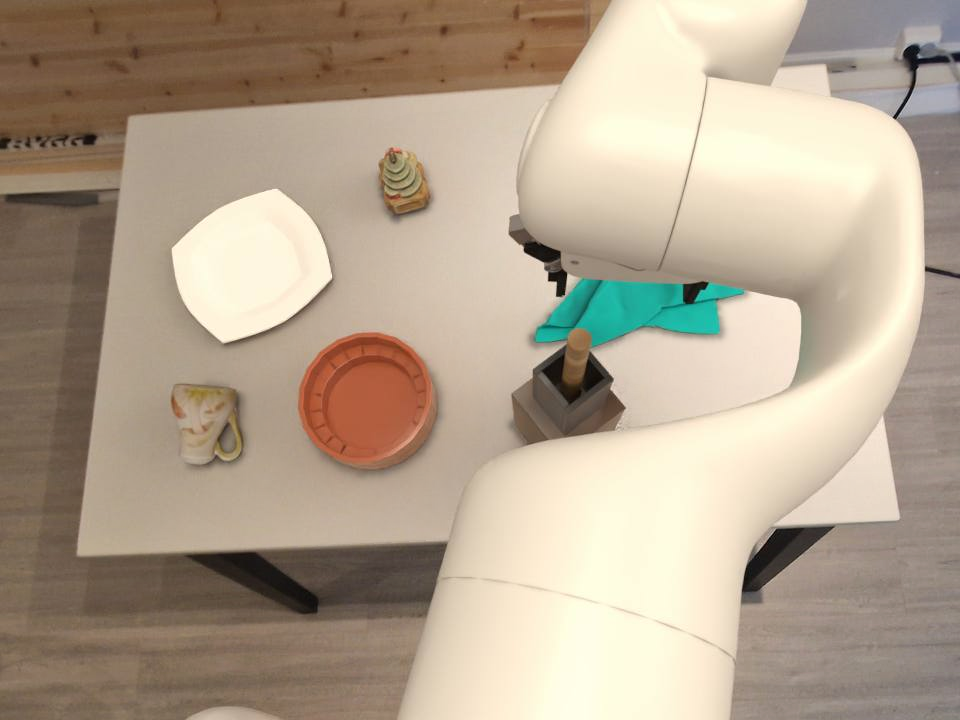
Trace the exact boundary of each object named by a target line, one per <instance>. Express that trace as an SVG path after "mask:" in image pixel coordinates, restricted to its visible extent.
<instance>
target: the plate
mask: <svg viewBox="0 0 960 720" xmlns="http://www.w3.org/2000/svg"><path fill="white" fill-rule="evenodd" d="M170 250H171V258H172V266H173V272H174V278H175V282H176V286H177V290H178V293H179V296H180V297H181V300H182V302H183V304H184V305H185V307H186V308H187V310H188V312H189V313H190V314H191V315H192V317H194V319H195V320H196V321H197V322H198V323H199V324H200V325H201V326H202V327H203V328H204V329H206V330H207V331H208V332H209V333H210V334H211V335H212V336H213V337H214V338H216V339H217V340H218V341H220V343H222V344H227V343H231V342H234V341H238V340H241V339H244V338H249V337H251V336H254V335H257V334H260V333H263V332H265V331H267V330H270V329H272V328H274V327H277V326H279V325H281V324H282V323H286V321H288V320H289V319H291V318H292V317H293V316H295V315H296V314H298V313H299V312H300V311H301V310H302V309H303V308H304V307H305V306H307V305H308V304H309V303H310V302H312V300H313V299H314V298H315V297H316V296H317V295H318V294H319V293H321V291H322V290H324V289H325V287H326V286H327V285H328V284H329V283H330V282H331V281H332V279H333V273H332V267H331V264H330V260H329V255H328V250H327V247H326V244H325V241H324V239H323V235H322V233H321V232H320V230H319V228H318V226H317V224H316V223H315V222H314V220H313V219H312V218H311V216H310V215H309V214H308V213H307V212H306V211H305V210H304V209H303V208H302V207H301V206H300V205H299V204H298V203H296V202H295V201H294V200H293V199H292V198H290V197H289V196H287V195H286V194H285V193H283V192H282V191H281V190H279V189H278V188H277V187H276V188H272V189H268V190H265V191H260V192H258V193H254V194H251V195H247V196H244V197H242V198H239V199H237V200H234V201H231V202H229V203H227V204H225V205H223V206H221V207H218V208H217V209H215V210H214V211H213V212H211V213H210V214H208V215H207V216H206V217H204V218H203V219H201V221H199V222H198V223H197V224H196V225H194V227H192V228H191V229H190V230H189V231H188V232H187V233H186V234H185V235H184V236H183V237H181V239H180V240H178V242H177V243H176V244H175V245H174V246H172V247H171V249H170Z"/></svg>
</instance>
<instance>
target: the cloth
mask: <svg viewBox="0 0 960 720" xmlns="http://www.w3.org/2000/svg"><path fill="white" fill-rule="evenodd" d="M743 294H745V290H742V289H738V288H734V287H729V286H724V285H719V284H714V283H709V284H708V286H707V288H706V290H701V291H700V292H699V294H698V296H697V298H696V300H695V302H694V303H693V304H685V302H683V284H668V283H646V282H627V281H610V280H595V279H585V278H580V280H579V281H578V283H577V284H576V285H575V286H574V288H573V289H572V290H571V291H570V293H569V294H568V295H566V297H565V298H564V299H563V300H562V301H561V303H560V304H558V306H556V308H555V309H554V310H553V311H552V313H550V315H549V317H548V318H547V319H546V321H545V322H544V323H542V324H541V325H539V326H537V327H536V331H535V336H534V340H535V342H536V343H551V342H553V343H554V342H557V341H564V340H567V338H568V335H569V333H570V332H571V331H572V330H574V329H576V328H583V329H585V330H587V331H588V332H589V333H590V334H591V337H592V343H591V347H590V348H593V347H596V346H599V345H601V344H605V343H607V342H609V341H612V340H613V339H616V338H619V337H620V336H623V335H625V334H628V333H630V332H633V331H635V330H637V329H640V328H641V327H648V328H649V327H650V328H654V327H658V328H661V329H664V330H667V331H668V330H669V331H673V332H679V333H688V334H689V333H690V334H697V335H698V334H700V335H718V334H719V333H720V331H721V327H720V319H719V312H718V305H717V300H716V299H725V298H730V297H735V296H739V295H743Z"/></svg>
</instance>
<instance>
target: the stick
mask: <svg viewBox="0 0 960 720" xmlns="http://www.w3.org/2000/svg"><path fill="white" fill-rule="evenodd" d="M591 343H592V337H591V334H590V333H589V332H588V331H587V330H585V329H583V328H576V329H574V330H572V331H571V332H570V333H569V335H568V338H567V339H566V344H567V345H566V344H565V345H566V352H565V360H564V367H563V374H562V381H561V389H560V393H561V394H562V396H563V397H564V398H565V399H566V400H567V402H568V403H569V404H571V403H572V402H574V401H575V400H576V399H578V398H579V397H580V396H581V394H582V390H583V389H582V388H581V385H582V380H583V376H584V372H585V368H586V364H587V360H588V355H589V351H591V348H592V347H591Z"/></svg>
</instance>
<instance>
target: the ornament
mask: <svg viewBox="0 0 960 720" xmlns="http://www.w3.org/2000/svg"><path fill="white" fill-rule="evenodd" d="M378 168H379V172H380V174H379V176H378V177H379V182H380V185H381V187H382V190H383V199H384V203H385V205H386V207H387V208H388V210H390V211H391V212H392V214H394V215H396V216H397V215H402V214H406V213H411V212H414V211H419V210H422V209H426V208H427V207H428V206H429V203H430V201H429V200H430V198H431V192H430V189H429V186H428V183H427V181H425V179H426V178H425V173H424V168H423V165H422V163H421V162H420V161H419V159H418V157H417V155H416V154H415V153H414V152H412V151H408V150H403V149H401V148H400V147H398V146H394V147H390V148H388V149H386V150H385V153H384V156H383V157H382V158H381V159H380V160H379V161H378Z"/></svg>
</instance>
